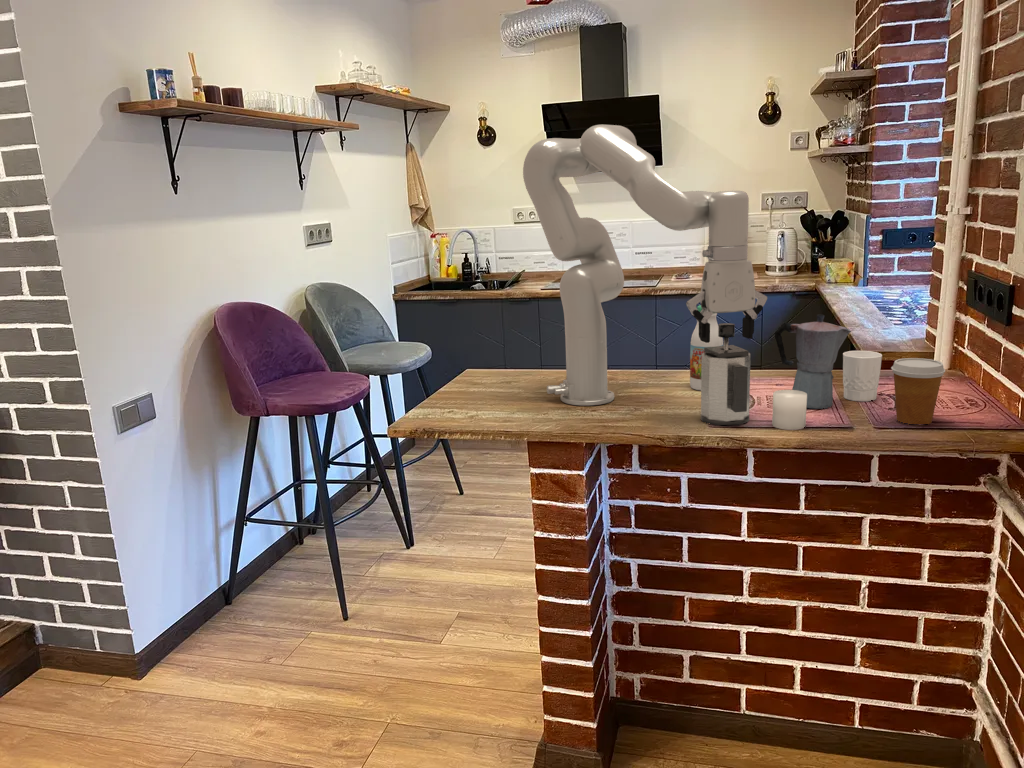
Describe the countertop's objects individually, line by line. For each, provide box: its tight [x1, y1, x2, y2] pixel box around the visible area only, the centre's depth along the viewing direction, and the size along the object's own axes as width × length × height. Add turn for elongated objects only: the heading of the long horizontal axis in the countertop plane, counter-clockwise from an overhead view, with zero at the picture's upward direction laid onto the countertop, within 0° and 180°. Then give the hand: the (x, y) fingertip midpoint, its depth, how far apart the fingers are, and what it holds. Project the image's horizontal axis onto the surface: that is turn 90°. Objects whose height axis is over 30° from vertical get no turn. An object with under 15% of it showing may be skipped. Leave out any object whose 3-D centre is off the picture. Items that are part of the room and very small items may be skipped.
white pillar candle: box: [771, 389, 807, 431], centre depth 160 cm, size 6×6×7 cm
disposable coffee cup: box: [890, 357, 946, 425], centre depth 158 cm, size 10×10×12 cm
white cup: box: [842, 350, 883, 402], centre depth 177 cm, size 8×8×10 cm
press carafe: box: [700, 344, 752, 426], centre depth 164 cm, size 10×12×15 cm
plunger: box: [717, 322, 736, 350], centre depth 164 cm, size 7×7×14 cm
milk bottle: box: [689, 304, 724, 391], centre depth 191 cm, size 8×8×20 cm
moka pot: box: [774, 313, 852, 410], centre depth 172 cm, size 10×15×20 cm, turn 78°
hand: (726, 339), depth 163 cm, fingers open, 9 cm apart
